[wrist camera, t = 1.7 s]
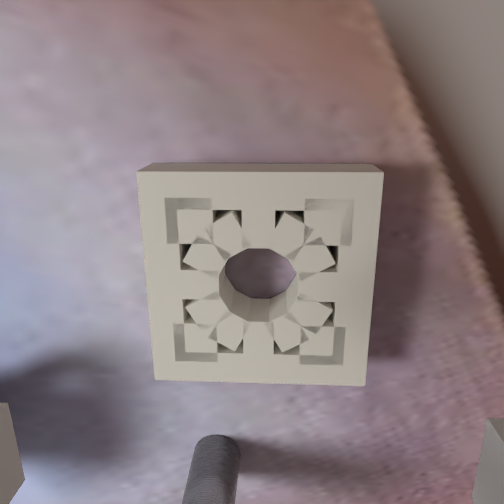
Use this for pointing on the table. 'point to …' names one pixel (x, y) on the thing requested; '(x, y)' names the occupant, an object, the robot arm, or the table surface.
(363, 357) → the bore block
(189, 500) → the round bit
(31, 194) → the table surface
